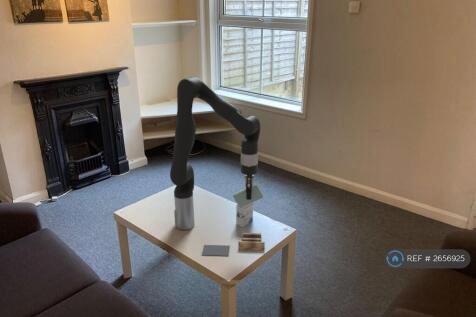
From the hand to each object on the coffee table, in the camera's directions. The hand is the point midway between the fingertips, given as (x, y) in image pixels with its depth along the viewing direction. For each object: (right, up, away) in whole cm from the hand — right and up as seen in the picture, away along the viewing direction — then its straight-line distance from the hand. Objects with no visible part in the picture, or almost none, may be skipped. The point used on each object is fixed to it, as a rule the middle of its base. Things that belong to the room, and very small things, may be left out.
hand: (248, 197), depth 172 cm
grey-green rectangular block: (-6, -1, +1) cm, 6 cm away
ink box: (-2, -16, +25) cm, 29 cm away
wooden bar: (+1, -24, +2) cm, 24 cm away
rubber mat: (-15, -24, +1) cm, 28 cm away
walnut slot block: (+2, -21, +8) cm, 23 cm away
